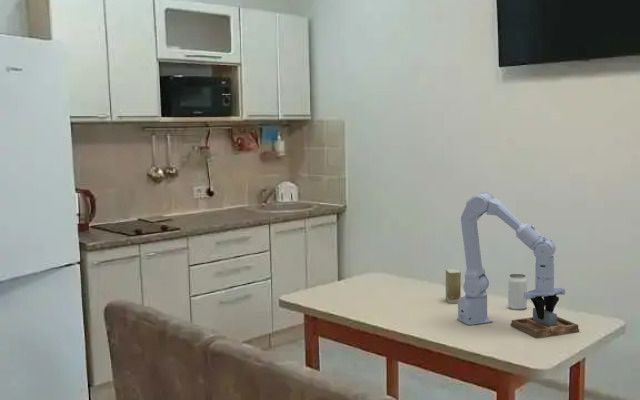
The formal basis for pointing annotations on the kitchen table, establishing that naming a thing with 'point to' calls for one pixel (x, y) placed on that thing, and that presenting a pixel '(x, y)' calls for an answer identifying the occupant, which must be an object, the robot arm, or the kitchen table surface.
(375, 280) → the kitchen table surface
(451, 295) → the skincare box
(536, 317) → the blue-gray rectangular block
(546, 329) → the rack
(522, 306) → the can
